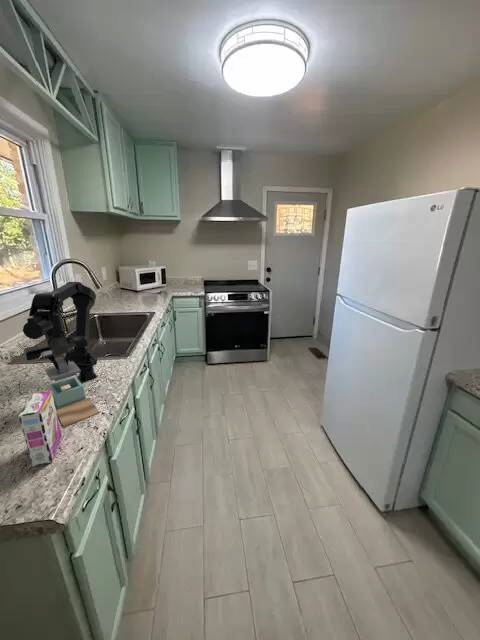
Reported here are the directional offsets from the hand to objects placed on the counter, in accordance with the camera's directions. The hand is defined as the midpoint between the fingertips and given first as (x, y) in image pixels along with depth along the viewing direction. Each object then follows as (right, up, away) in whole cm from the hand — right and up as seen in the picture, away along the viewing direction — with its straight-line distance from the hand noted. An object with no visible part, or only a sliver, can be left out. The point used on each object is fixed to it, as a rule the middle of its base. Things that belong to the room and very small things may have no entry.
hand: (62, 368), depth 99 cm
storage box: (0, -12, +4) cm, 13 cm away
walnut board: (+8, -15, -4) cm, 17 cm away
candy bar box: (+10, -20, -21) cm, 31 cm away
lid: (0, -2, +1) cm, 2 cm away
